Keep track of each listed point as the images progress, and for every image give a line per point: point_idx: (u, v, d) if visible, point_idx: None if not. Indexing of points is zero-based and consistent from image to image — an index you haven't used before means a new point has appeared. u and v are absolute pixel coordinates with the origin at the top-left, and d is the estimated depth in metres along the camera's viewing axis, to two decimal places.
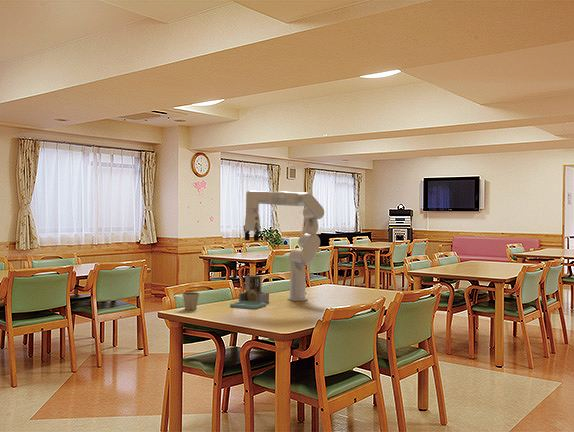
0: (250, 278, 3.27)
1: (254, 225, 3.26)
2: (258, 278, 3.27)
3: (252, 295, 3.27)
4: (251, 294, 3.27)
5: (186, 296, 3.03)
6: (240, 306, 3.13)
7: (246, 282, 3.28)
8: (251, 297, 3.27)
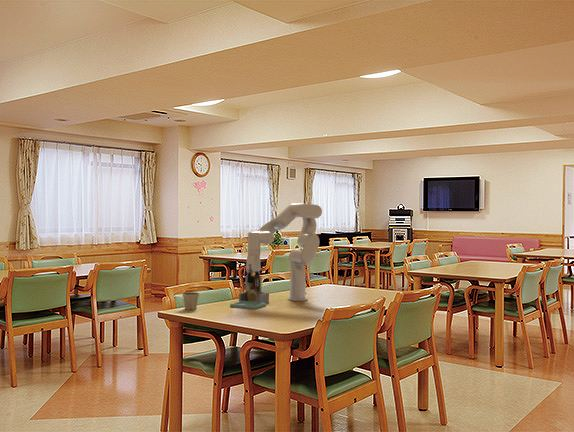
0: None
1: None
2: (258, 278, 3.27)
3: (252, 295, 3.27)
4: (251, 294, 3.27)
5: (186, 296, 3.03)
6: (240, 306, 3.13)
7: (246, 282, 3.28)
8: (251, 297, 3.27)
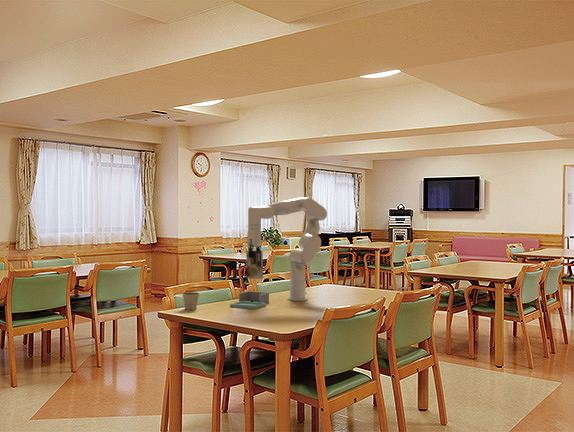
0: None
1: None
2: (259, 253, 3.27)
3: (253, 269, 3.28)
4: (252, 269, 3.28)
5: (186, 296, 3.03)
6: (240, 306, 3.13)
7: (247, 257, 3.28)
8: (253, 272, 3.28)
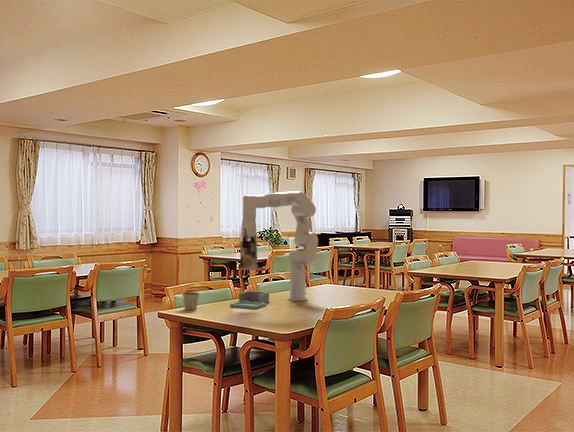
0: None
1: None
2: (253, 243, 3.15)
3: (247, 260, 3.15)
4: (246, 260, 3.15)
5: (186, 296, 3.03)
6: (240, 306, 3.13)
7: (241, 247, 3.16)
8: (247, 263, 3.15)
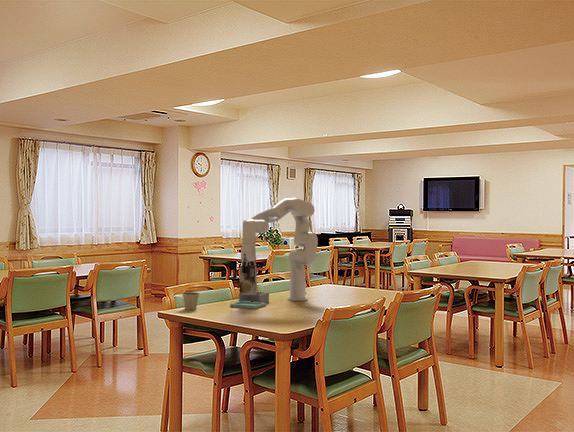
0: None
1: None
2: (253, 268, 3.15)
3: (246, 285, 3.15)
4: (245, 285, 3.15)
5: (186, 296, 3.03)
6: (240, 306, 3.13)
7: (240, 272, 3.16)
8: (246, 288, 3.15)
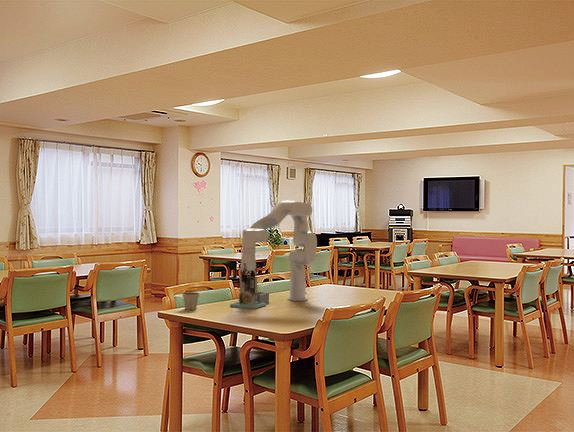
0: None
1: None
2: (253, 279, 3.15)
3: (247, 296, 3.15)
4: (245, 296, 3.15)
5: (186, 296, 3.03)
6: (240, 306, 3.13)
7: (241, 283, 3.16)
8: (246, 299, 3.15)
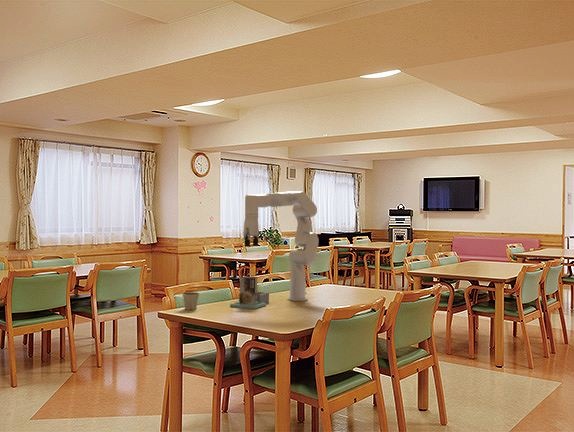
0: (245, 279, 3.16)
1: None
2: (253, 279, 3.15)
3: (247, 296, 3.15)
4: (245, 296, 3.15)
5: (186, 296, 3.03)
6: (240, 306, 3.13)
7: (241, 283, 3.16)
8: (246, 299, 3.15)
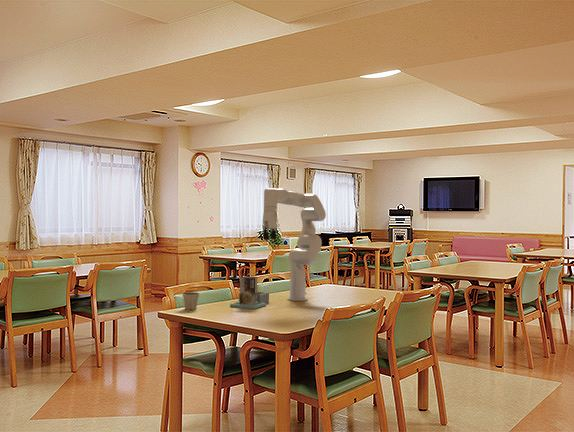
0: (245, 279, 3.16)
1: None
2: (253, 279, 3.15)
3: (247, 296, 3.15)
4: (245, 296, 3.15)
5: (186, 296, 3.03)
6: (240, 306, 3.13)
7: (241, 283, 3.16)
8: (246, 299, 3.15)
